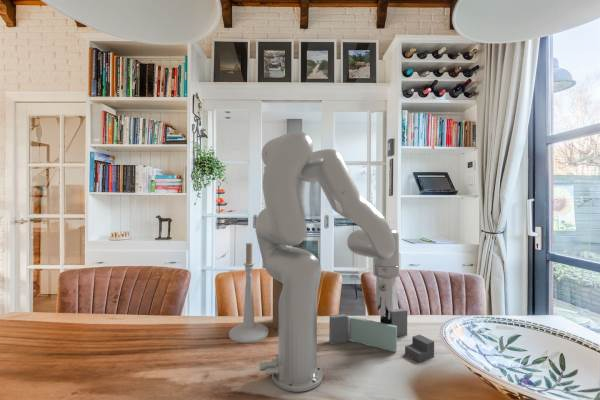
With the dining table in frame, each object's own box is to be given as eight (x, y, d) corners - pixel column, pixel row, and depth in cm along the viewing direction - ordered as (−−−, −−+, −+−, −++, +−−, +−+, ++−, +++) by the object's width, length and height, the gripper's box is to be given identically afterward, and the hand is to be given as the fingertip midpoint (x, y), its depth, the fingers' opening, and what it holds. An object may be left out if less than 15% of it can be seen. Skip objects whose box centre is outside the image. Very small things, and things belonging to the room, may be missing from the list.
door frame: (331, 343, 92) (331, 317, 92) (329, 340, 94) (329, 315, 94) (407, 335, 98) (407, 310, 98) (403, 332, 100) (403, 308, 100)
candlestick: (261, 344, 91) (262, 245, 91) (222, 340, 93) (222, 244, 93) (272, 326, 104) (273, 239, 104) (237, 323, 106) (238, 238, 106)
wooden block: (302, 330, 101) (302, 271, 101) (272, 330, 101) (272, 270, 101) (302, 319, 111) (302, 264, 111) (275, 318, 111) (275, 264, 111)
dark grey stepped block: (419, 349, 89) (419, 334, 89) (434, 357, 84) (434, 341, 84) (404, 354, 86) (405, 338, 86) (419, 363, 82) (419, 346, 82)
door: (345, 339, 94) (345, 317, 94) (347, 337, 95) (347, 315, 95) (395, 351, 86) (395, 327, 86) (396, 349, 87) (396, 325, 87)
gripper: (394, 277, 82) (395, 344, 83) (402, 265, 96) (402, 323, 96) (367, 274, 86) (368, 338, 86) (378, 263, 99) (378, 319, 99)
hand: (386, 330), depth 91 cm, fingers closed
